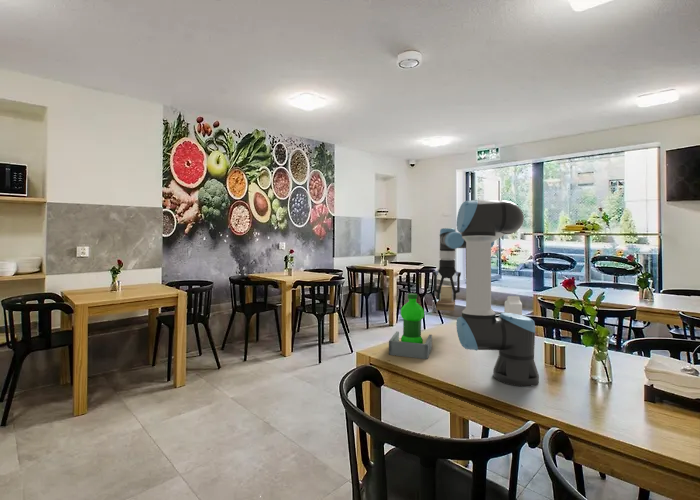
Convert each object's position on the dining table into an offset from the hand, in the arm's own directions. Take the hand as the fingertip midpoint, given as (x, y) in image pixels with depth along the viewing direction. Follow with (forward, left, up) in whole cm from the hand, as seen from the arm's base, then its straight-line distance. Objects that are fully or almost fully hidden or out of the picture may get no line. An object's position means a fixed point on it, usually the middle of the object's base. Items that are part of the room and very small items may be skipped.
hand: (446, 305), depth 186 cm
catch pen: (-27, +13, -16) cm, 34 cm away
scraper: (0, 0, 0) cm, 0 cm away
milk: (+5, -31, -16) cm, 35 cm away
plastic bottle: (-24, +13, -16) cm, 32 cm away
